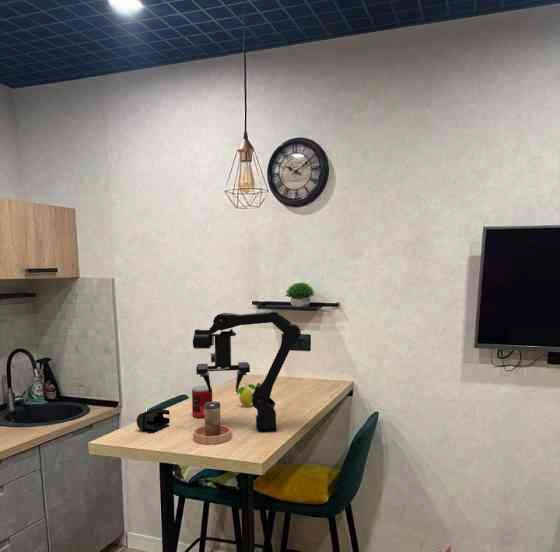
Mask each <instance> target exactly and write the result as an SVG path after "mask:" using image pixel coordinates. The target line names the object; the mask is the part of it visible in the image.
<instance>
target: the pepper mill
mask: <svg viewBox="0 0 560 552" xmlns="http://www.w3.org/2000/svg"><path fill="white" fill-rule="evenodd" d="M221 423H222V421H221V402H219V401H212V402H207V403H205V418H204V426H205V436H218V435H221V425H222V424H221Z"/></svg>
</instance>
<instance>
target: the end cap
mask: <svg viewBox="0 0 560 552" xmlns="http://www.w3.org/2000/svg"><path fill="white" fill-rule="evenodd" d="M164 415H166V416H169V415H170V410H169V409H163V408H162V406H158V407H154V408H152V409H149V410H147V411H144V412H141V413H139V414H138V415H137V417H136V426H137V428H138V429H139V430H140V431H141V432H143V433H145V432H147V433H146V434H151V433H153V434H155V432H156V433H158V432H160V431H162V430H164V428H165V429H166V427H167V428H170V425H169V424H170V422H171V421H170V417H165V416H164ZM159 430H160V431H159ZM157 431H158V432H157Z"/></svg>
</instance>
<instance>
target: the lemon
mask: <svg viewBox="0 0 560 552" xmlns="http://www.w3.org/2000/svg"><path fill="white" fill-rule="evenodd" d="M247 387H248V388H247ZM255 388H256V385H255V384H253V383H251V384H250V383H249V384H248V383H245V386H240V387H239V388H238V391H237V392H236V395H239V402H240V403H241V405H244V407H248V406H250V405H251V404H252V398H253V397H251V396H252V394H253V392H252V391H251V390H253V391H255Z"/></svg>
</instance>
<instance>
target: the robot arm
mask: <svg viewBox="0 0 560 552" xmlns="http://www.w3.org/2000/svg"><path fill="white" fill-rule="evenodd" d="M270 323H271V324H273V325H274V326H275V327H276V328H277V329H278V330H280V332H281V333H283V336H282V339H281V342H280V347H279V348H278V351H277V353H276V355H275V356H274V357H275V358H274V359H273V361H272V363H271V365H270V368H269V370H268V372H267V373H266V376H265V378H264V380H263V381H262V383H260V382H257V383H256V385H255V387H256V388H255V390H253V392H252V396H251V397H253V398H252V403H251V404H252V406H253V408H255V410H256V411H257V415H255V427H256V429H257V432H258V433H265V432H277V431H278V429H277V411H276V410H275V406H276V402H275V401H274V400H273V399H272V398H271V394H272V390H273V386H274V384H275V382H276V380H277V377H278V376H279V374H280V372H281V370H282V367H283V365H284V363H285V361H286V360H287V358H288V355H289V353H290V351H291V350H292V348H293V347H294V346H295V345H296V343H297V342H298V341H299V339H300V337H301V334H302V329H301V327H300V325H298V324H297V323H292V322H291V321H289V320H288V319H286V318H285V316H283V315H282V314H280V313H279V311H277V310H272V311H267V312H266V311H265V312H257V313H256V312H254V313H243V314H240V313H233V312H232V313H231V312H230V313H229V312H222V313H218V314H217V315H216V316H215V317H214V318H213V321H212V325H211V326H210V327H209V329H195V330H194V334H193V339H192V347H193V349H194V350H199V349H200V350H201V349H203V350H205V349H209V350H210V349H211V348H212V346H214V352H213V353H211V352H210V363H212V364H213V363H214V365H209V364H208V363H198V364H197V365H196V368H195V369H196V372H195V373H196V375H199V377H200V378H203V380H204V382H205V384H206V385H207V387H208V389H209V392H210V393H211V387H212V386H211V379H210V373H209V372H224V371H225V372H226V371H227V372H228V371H229V372H230V371H237V372H236V382H235V392H236V393H237V391H238V389H239V388H240V385H241V382H242V379H243V377H244V376H246V375H247V374H248V373H251V366H250V363H249V362H248V361H243V362H241V361H238V363H237V364H232V337H235V336H237V333H236V332H235V331H234V330H233V328H235V327H239V326H247V325H248V326H249V325H257V324H258V325H259V324H270ZM218 331H220V333H216V332H218Z"/></svg>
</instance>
